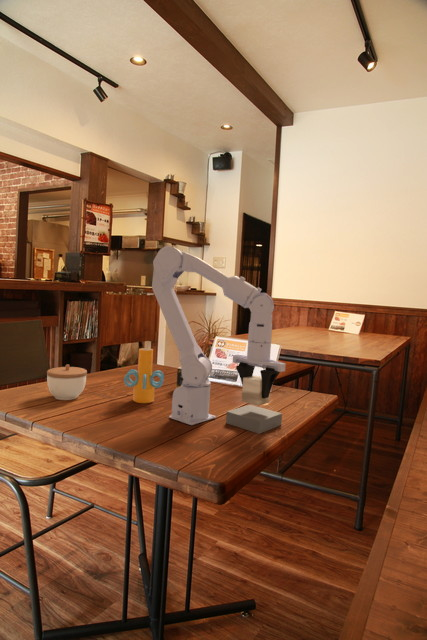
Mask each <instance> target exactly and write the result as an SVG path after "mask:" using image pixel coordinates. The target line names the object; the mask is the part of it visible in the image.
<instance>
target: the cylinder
mask: <svg viewBox="0 0 427 640" xmlns="http://www.w3.org/2000/svg"><path fill="white" fill-rule="evenodd" d="M153 358H154V349H153V348H146V347H145V348H144V347H141V348H139V349H138V361H137V365H138V366H137V370H136V369H133V368H131V369H130V370H128V372H126V374H125V375H124V377H123V382H124V384H125V386H126V387H129V388H133V389H132V392H133V394H132V401H133V402H135V403H137V404H151V403H153V402H154V401H155V389H159V388H161V387H162V386H163V384H164V379H165V375H164V372H163V371H162V370H154V371H153V360H154V359H153ZM131 375H133V376H134V377H135V380H132V379H131V378H130V377H131ZM154 377H158V378H159V381H155V380H154Z"/></svg>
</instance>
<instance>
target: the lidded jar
mask: <svg viewBox="0 0 427 640" xmlns="http://www.w3.org/2000/svg"><path fill="white" fill-rule="evenodd" d="M87 374H88V371H87V369H86V368H84V367H83V368H82V367H76V366H70V364H66V365H65V366H61V367H60V366H59V367H53V368H49V369H48V370H47V371H46V376H47V378H46V380H47V388H48V390H49V392H50V394H51V395H52V396H53V397H54V399H56V400H58V401H70V400H75V399H77V398H78V397H79V396H80V395H81V394H82V393H83V392H84V389H85V387H86V383H87V376H88V375H87Z"/></svg>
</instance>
